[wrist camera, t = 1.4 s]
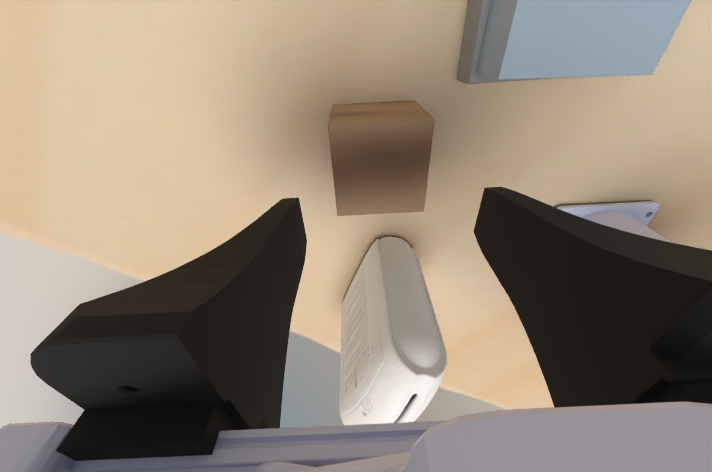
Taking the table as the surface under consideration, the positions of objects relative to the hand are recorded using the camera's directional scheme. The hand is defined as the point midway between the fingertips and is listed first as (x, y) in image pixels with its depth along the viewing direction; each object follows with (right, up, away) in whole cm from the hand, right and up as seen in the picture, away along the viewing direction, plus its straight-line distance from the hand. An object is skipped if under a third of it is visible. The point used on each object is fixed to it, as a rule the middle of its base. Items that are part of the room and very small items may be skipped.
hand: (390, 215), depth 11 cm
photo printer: (0, -5, +15) cm, 16 cm away
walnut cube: (0, +5, +8) cm, 9 cm away
